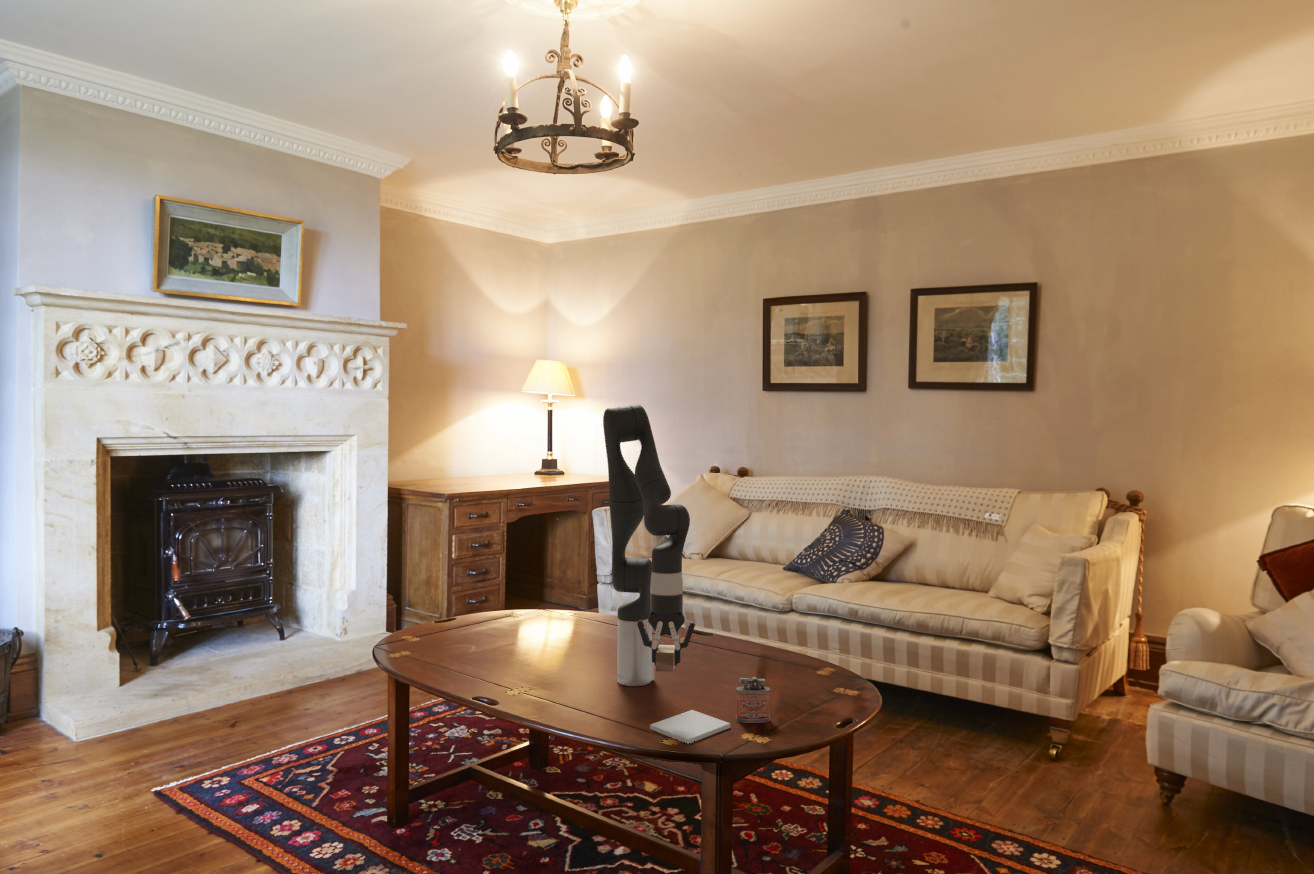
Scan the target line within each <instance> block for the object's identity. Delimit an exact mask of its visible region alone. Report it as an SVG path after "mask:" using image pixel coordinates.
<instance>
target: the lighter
mask: <svg viewBox="0 0 1314 874" xmlns="http://www.w3.org/2000/svg"><path fill="white" fill-rule="evenodd" d="M738 685H740V686H736V687H735V692H736V699H735V701H736V709H735V710H736V711H735V712H736V713H735V721H736V722H737V723H746V724H748V723H751V724H752V723H753V724H754V723H755V724H756V723H759V724H760V723H768V722H770V720H771V716H770V693H771V688H770V687H768V686H765V685H766V679H765V678H757V677H756V676H752V677H751V678H749V677H741V678H739V679H738ZM742 685H743V686H742Z"/></svg>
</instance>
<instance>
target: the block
mask: <svg viewBox="0 0 1314 874" xmlns="http://www.w3.org/2000/svg"><path fill="white" fill-rule="evenodd" d="M658 647H659V648H658V650H657V652H656V665H655V672H664V673H665V672H666V673H670V672H671V673H674V671H675V667H676V666H674V650H675V646H674V644H658Z"/></svg>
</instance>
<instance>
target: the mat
mask: <svg viewBox="0 0 1314 874" xmlns="http://www.w3.org/2000/svg"><path fill="white" fill-rule="evenodd" d="M649 729H650V730H651V731H653V732H657V733H659V734H661V735H664V736H667V737H669V738H671V737H672V738H671V739H674V740H676V739H677V740H676V741H679V742H681V741H682V742H681V743H684V742H685V743H684V744H686V743H687V745H689V743H690V744H692V743H694V741H695V742H697V741H700V740H702V739H704V738H707V737H710V736H712V735H713V736H714V735H715V734H717V733H720V732H723V731H725V730H728V729H731V723H730V722H727V721H725V720H722V719H720V718H719V719H718V718H717V717H715V716H714V717H713V716H711V715H708V714H705V713H702V712H699V711H697V710H694V709H690V710H688V711H685V712H682V713H679V714H676V715H673V716H670V717H667V718H665V719H663V720H659V721H657V722H653V723H651V724H649Z"/></svg>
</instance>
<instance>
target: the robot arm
mask: <svg viewBox="0 0 1314 874" xmlns="http://www.w3.org/2000/svg"><path fill="white" fill-rule="evenodd" d="M602 423H603V424H602V425H603V435H604V441H605V452H606V458H607V469H608V498H609V501H608V502H609V503H608V504H609V515H610V526H611V527H610V528H611V542H612V546H611V550H612V551H611V579H612V585H613V588H614V590H615V591H616V592H618V593H632V594H639V596H638V598H636V599H635V600H633V601H631V602H627V603H625V604H622V605H619V607H618V608H617V649H616V650H617V654H616V655H617V656H616V657H617V665H616V666H617V668H616V669H617V671H616V672H617V673H616V674H617V680H616V681H617V683H618V684H619V685H621V686H628V687H641V686H646V685H648V684H651V682H652V681H654V680H655V666H656V652H657V650H658V648H659V641H660V636H666V635H667V636H671V639H672V642H673V645H674V646H675V650H674V666H675V667H677V666H678V665H679V664H680V663H681V657H682V655H681V654H682V653H681V652H682V651H681V650H682V649H685V648H686V649H687V647H688V646H689V644H690V642H691V638H692V635H693V633H694V629H695V627H696V621H695V620H688V619H686V617H685V616H684V614H683V611H684V610H683V608H684V606H683V605H684V604H683V603H684V602H683V601H684V600H683V599H684V598H683V597H684V596H683V595H684V594H683V591H684V586H683V585H684V583H683V551H684V547H685V543H686V540H687V537H688V536H687V535H688V533H689V530H690V526H691V525H690V524H691V523H690V522H691V517H690V513H689V511H688V509H687V508H686V507H685V506H684V505H682V504H666V503H667V502H668V501H669V500H670V498H671V496H672V491H671V490H672V489H671V488H670V485H669V483H668V480H667V478H666V475H665V473H664V471H663V468H662V465H661V462H660V459H659V456H658V451H657V446H656V443H655V438H654V434H653V431H652V428H651V427H652V426H651V423H650V419H649V416H648V413H647V412H646V410H645V408H644V407H643V406H642V405H640V404H629V405H620V406H612V407H607V408H606V409H605V410H604V412H603V418H602ZM635 441H639V442H640V447H641V449H640V452H639V455H638V458H637V462H636V465H635V468H634V472H633V470H632V469H631V468H630V466H629V465H628V464H627V462H626V460H625V458H624V457H623V454H622V450H621V443H628V442H635ZM642 521H643V524H644V528H645V530H646V532H648V533H649V534H650V535H652V536H656V537H660V536H662V537H663V536H668V539H667V541H666V542H663V543H662V544H660V545H656V546H655V547H653V548H652V551H651V559H650V558H644V557H643V558H642V557H641V558H640V557H626V550H627V545H629V542H630V539H631V538H632V536H633V535H634V533H635V531H637V529H638V528H639V526H640V524H641V522H642ZM683 625H684V629H685V630H686V633H685V636H684V640H683V641H681V639H680V633H679V630H680V629H681V627H682V626H683ZM652 630H653V631H654V635H653V631H652ZM652 635H653V637H652ZM652 639H653V640H652Z"/></svg>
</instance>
